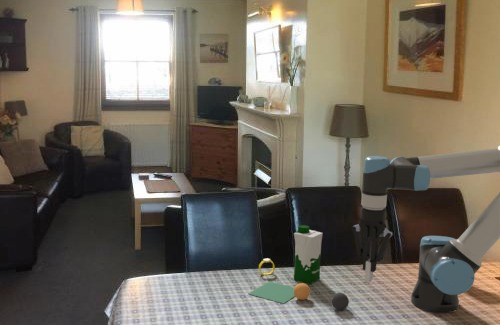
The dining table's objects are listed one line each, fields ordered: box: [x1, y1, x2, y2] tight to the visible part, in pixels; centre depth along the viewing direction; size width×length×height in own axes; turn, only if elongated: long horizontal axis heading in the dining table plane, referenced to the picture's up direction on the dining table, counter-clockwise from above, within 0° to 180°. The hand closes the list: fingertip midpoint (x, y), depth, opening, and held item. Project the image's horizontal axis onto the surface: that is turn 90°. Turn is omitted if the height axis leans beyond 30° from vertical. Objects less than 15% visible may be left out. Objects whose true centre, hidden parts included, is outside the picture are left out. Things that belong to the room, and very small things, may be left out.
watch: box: [258, 257, 276, 276], centre depth 212 cm, size 6×3×6 cm, turn 106°
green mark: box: [248, 281, 296, 305], centre depth 196 cm, size 14×14×1 cm
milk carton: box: [293, 224, 323, 285], centre depth 206 cm, size 9×9×20 cm
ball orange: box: [293, 282, 311, 301], centre depth 190 cm, size 6×6×6 cm
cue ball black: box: [331, 292, 350, 311], centre depth 182 cm, size 6×6×6 cm
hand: (368, 280), depth 176 cm, fingers closed
